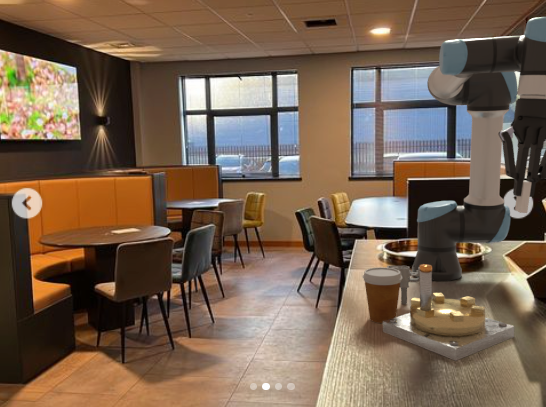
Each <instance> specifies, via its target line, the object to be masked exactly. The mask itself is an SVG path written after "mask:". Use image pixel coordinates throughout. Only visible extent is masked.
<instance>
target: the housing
mask: <svg viewBox="0 0 546 407" xmlns="http://www.w3.org/2000/svg"><path fill="white" fill-rule="evenodd" d="M382 332H383V333H384V334H388V335H389V336H390V335H391V336H393V337H395V338H397V339H399V340H403V341H406V342H408V343H410V344H413V345H415V346H418V347H420V348H423V349H425V350H428V351H430V352H432V353H436V354H438V355H440V356H443V357H445V358H448V359H451V360H452V361H455V362H456V361H458V360H461V359H463V358H466V357H468V356H471V355H473V354H477V353H479V352H481V351H483V350H486V349H488V348H490V347H492V346H495V345H498V344H500V343H502V342H505V341H507V340H509V339H513V338H515V326H514V325H512V324H509V323H505V322H502V321H498V320H495V319H492V318H490V317H486V316H485V328H484V330H482V331H481V332H478V333H475V334H471V335H463V336H448V335H439V334H434V333H429V332H426V331H423V330H420V329H418V328H416V327H415V326H413V325H412V323H411V321H410V312H409V313H404V314H402V315H399V316H396V317H395V318H392V319H389V320H385V321H383V323H382Z"/></svg>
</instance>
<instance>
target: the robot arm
mask: <svg viewBox="0 0 546 407" xmlns="http://www.w3.org/2000/svg"><path fill="white" fill-rule="evenodd" d="M438 57H439V59H438V61H439V64H438V66H436V67H435V68H434V69H433V70H432V71H431V73H430V75H429V76H428V78H427V90H428V92H429V94H430V96H432V97H433V98H434V99H435V100H436V101H439V102H440V103H442V104H446V105H450V106H466V112H467V113H468V114H469V115H470V116H471V132H470V133H471V136H470V139H471V140H470V160H469V161H470V162H469V166H470V167H469V192H468V195H467V196H466V197H464V198H463V205H458V204H457V202H456V201H455V200H441V201H433V202H428V203H424V204H423V205H420V206H419V208H418V209H417V219H416V222H417V251H416V255H415V258H414V260H413V261H414V262H413V264H412V265H411V266H412V267H411V272H416V270H418V267H420V265H423V264H427V265H432V282H434V281H435V282H439V281H440V282H446V281H447V282H448V281H455V280H458V279H461V277H462V275H463V274H462V272H463V271H462V267H461V264H460V261H459V260H460V259H459V257H458V255H457V244H458V243H459V244H462V243H463V244H465V243H466V244H467V243H469V244H472V243H473V244H481V243H483V244H492V243H500V242H503V241H504V240H505V239H506V237H507V236H508V233H509V231H510V226H511V209H510V207H509V206H508V205H507V204H505V200H504V198H503V197H501V196H500V188H501V185H500V184H501V169H502V168H501V166H502V151H503V158H504V161H503V162H504V168H505V175H506V176H507V177H509V178H511V179H513V180H514V183H513V189H512V190H513V191H512V193H513V196H515V197H516V200H515V207H514V211H516V212H518V213H519V214H520V213H521V214H528V212H529V211H528V210H529V203H530V197H531V198H533V197H534V195H535V191H536V184H537V183H538V182H539V181H541V180H546V149H545V150H544V153H543V155H542V150H543V149H544V144H545V142H546V16H541V17H539V16H538V17H533V18H531V19H529V20H528V21H527V23H526V26H525V30H524V33H523V35H512V36H511V35H509V36H496V37H483V38H481V37H480V38H478V37H477V38H465V39H464V38H463V39H462V38H456V39H450V40H445V41H444V42H442V43H441V45H440V49H439V55H438ZM516 72H517V73H519V77H518V79H517V75H516ZM518 96H519V98H518ZM514 103H515V107H514V113H513V114H514V115H513V120H512V122H511V124H510V127H508V128H506V129H504V127H503V125H504V116H505V114H507V113H508V112H509V111H510V105H512V104H514ZM503 129H504V130H503ZM513 134H514V135H513ZM514 136H515V138H516V139H517V153H516V159H515V152H514V142H513V138H514ZM541 156H542V157H541ZM528 159H529V160H528ZM526 172H527V173H526ZM525 177H526V178H525ZM525 179H526V180H525ZM414 277H415V278H418V277H419V276H414Z"/></svg>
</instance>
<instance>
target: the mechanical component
mask: <svg viewBox="0 0 546 407" xmlns="http://www.w3.org/2000/svg"><path fill="white" fill-rule="evenodd" d="M384 268H393V269H397V270H399V271H400V273H401V276H402V280H401V282H400V292H401V294H400V302H401V305H407V304H408V289H409V288H410V285H409V284H410V283H420V267H418V270H416V272H412V269H411V270H410V266H407V265H387V266H386V267H384ZM415 276H419V277H418V278H417V277H415ZM412 277H415V278H412Z"/></svg>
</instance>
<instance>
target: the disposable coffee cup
mask: <svg viewBox="0 0 546 407" xmlns="http://www.w3.org/2000/svg"><path fill="white" fill-rule="evenodd" d="M362 279H363V281H364V287H365V294H366V300H367V302H366V303H367V307H368V314H369V320H370V321H372V322H374V323H378V324H383V321H385V320H389V319H392V318H395V317H397V312H398V304H399V297H400V296H399V295H400V290H401V288H400V282H401V280H402V276H401V273H400V271H399V270H397V269H393V268H387V267H385V268H384V267H381V266H379V267H370V268H368V269H365V270H364V273H363V275H362Z"/></svg>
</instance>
